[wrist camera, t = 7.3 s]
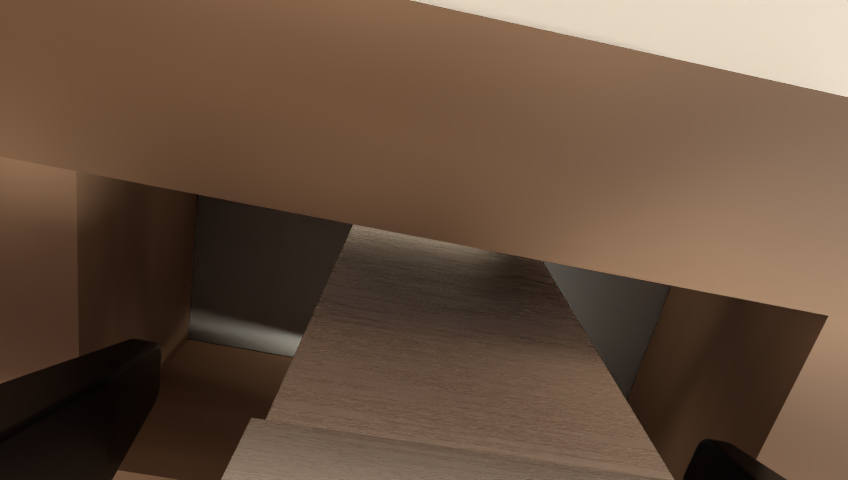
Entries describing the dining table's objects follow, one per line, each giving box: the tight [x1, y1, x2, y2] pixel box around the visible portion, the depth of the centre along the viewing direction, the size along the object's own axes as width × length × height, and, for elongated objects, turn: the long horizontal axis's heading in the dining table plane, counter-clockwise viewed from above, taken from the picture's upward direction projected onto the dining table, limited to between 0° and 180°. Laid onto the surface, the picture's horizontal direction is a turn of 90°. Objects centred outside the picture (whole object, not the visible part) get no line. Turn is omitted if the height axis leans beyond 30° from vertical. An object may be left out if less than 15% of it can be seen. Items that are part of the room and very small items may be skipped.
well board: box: [0, 0, 848, 480], centre depth 11 cm, size 12×16×4 cm
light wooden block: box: [221, 224, 674, 480], centre depth 9 cm, size 4×4×9 cm
